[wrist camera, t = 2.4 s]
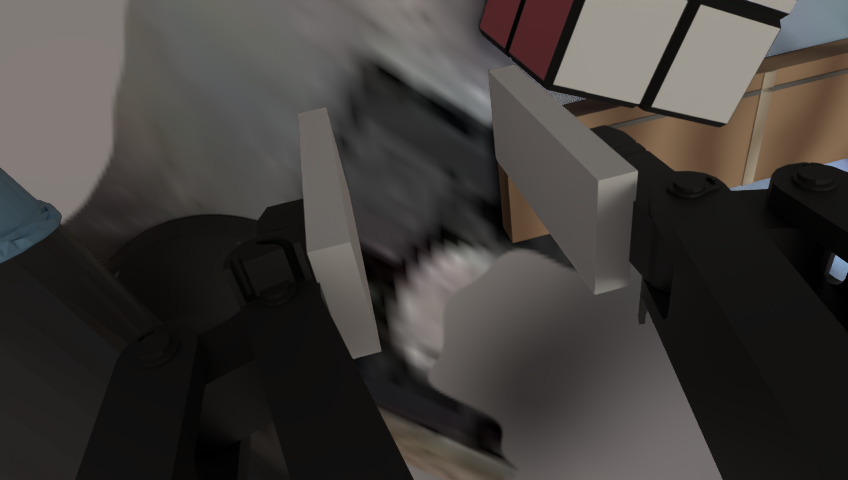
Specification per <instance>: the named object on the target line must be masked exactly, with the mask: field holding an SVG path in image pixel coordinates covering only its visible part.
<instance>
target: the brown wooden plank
mask: <svg viewBox="0 0 848 480" xmlns="http://www.w3.org/2000/svg"><path fill="white" fill-rule="evenodd" d="M562 106H563V107H564V108H566V109H567V110H568V111H569V112H570V113H571V114H573V115H574V116H575V117H576V118H577V119H578V120H580V121H581V122H582V123H583V124H584V125H585V126H587V127H588V128H589V129H590V128H594V127H598V126H602V125H607V126H610V127H613V128H616V129H618V130H621V131H624V132H625V133H627V134H628V135H629V136H630V137H632V138H633V139H634V140H636V143H639V144H641V145H642V146H643V147H645V148H646V151H650V152H651V153H652V154H653V155H655V156H656V157H657V158H659V159H660V160H661V161H662V162H664V163H665V164H666V165H668V166H669V167H670V168H671V169H673V170H674V171H695V172H701V173H706V174H709V175H711V176H714V177H717V178H718V179H719V180H721V181H722V182H723V183H725V184H726V186H727V187H728V188H731V187H735V186H739V185H742V186H743V185H747V184H751V183H753V182H755V181H759V180H763V179H767V178H771V175H772V174H773V173H774V171H775V170H776V169H778V168H780V167H782V166H785V165H788V164H795V163H801V162H809V163H810V162H814V163H821V164H826V163H830V162H834V161H838V160H842V159H846V158H848V38H847V39H843V40H839V41H834V42H830V43H826V44H822V45H817V46H813V47H809V48H805V49H800V50H796V51H792V52H788V53H783V54H779V55H775V56H770V57H766V58H764V60H763V62H762V64H761V65H760V67H759V69H758V71H757V72H756V74H755V76H754V78H753V80H752V81H751V83H750V85H749V87H748V88H747V90H746V92H745V94H744V96H743V97H742V99H741V101H740V103H739V104H738V106H737V108H736V110H735V112H734V113H733V115H732V117H731V119H730V120H729V122H728V124H726V125H724V126H722V127H720V128H719V127H714V126H710V125H705V124H701V123H696V122H692V121H687V120H682V119H678V118H673V117H669V116H664V115H660V114H655V113H651V112H646V111H643V110H642V109H640V108H639V107H637V106H636V107H634V108H628V107H623V106H619V105H614V104H610V103H605V102H601V101H596V100H591V99H587V100H583V101H578V102H574V103H570V104H566V105H562ZM498 171H499V183H500V194H501V206H502V218H503V228H504V229H505V231H506V232H507V234H508V236H509V237H510V239H511V241H512V242H513V243H515V242H519V241H523V240H527V239H531V238H534V237H538V236H542V235H546V234H550V233H549V231H548V230H547V229H546V227H545V226H544V224H543V223H542V222H541V220H540V219H539V218H538V216H537V215H536V213H535V212H534V211H533V209H532V208H531V207H530V205H529V204H528V202H527V201H526V200H525V198H524V197H523V196H522V194H521V193H520V191H519V190H518V189H517V187H516V186H515V184H514V183H513V182H512V180H511V179H510V178H509V176H508V175H507V173H506V172H505V171H504V169H503V168H502V167H501V165H500V164H499V162H498Z"/></svg>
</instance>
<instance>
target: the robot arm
mask: <svg viewBox="0 0 848 480" xmlns="http://www.w3.org/2000/svg"><path fill="white" fill-rule="evenodd" d="M488 74H489V85H490V97H491V108H492V120H493V131H494V143H495V154H496V160H497V161H498V162H499V164H500V165H501V167H502V168H503V169H504V171H505V172H506V173H507V175H508V176H509V178H510V179H511V180H512V182H513V183H514V184H515V186H516V187H517V189H518V190H519V191H520V193H521V194H522V196H523V197H524V198H525V200H526V201H527V202H528V204H529V205H530V207H531V208H532V209H533V211H534V212H535V213H536V215H537V216H538V218H539V219H540V220H541V222H542V223H543V224H544V226H545V227H546V229H547V230H548V231H549V233H550V234H551V235H552V237H553V238H554V240H555V241H556V242H557V244H558V245H559V246H560V248H561V249H562V251H563V252H564V253H565V255H566V256H567V257H568V259H569V260H570V262H571V263H572V264H573V266H574V267H575V269H576V270H577V271H578V273H579V274H580V275H581V277H582V278H583V280H584V281H585V282H586V284H587V285H588V286H589V288H590V289H591V291H592V292H593V293H594V295H595V294H599V293H603V292H607V291H610V290H615V289H618V288H622V287H626V286H629V279H630V266H631V264H632V265H633V266H634V267H635V268H636V269H637V270H638V271H639V273H640V274H641V275H642V282H641V293H640V304H639V313H638V318H639V324H644V323H645V316H646V313H647V311H648V312H649V314H650V316H651V318H652V321H653V323H654V325H655V328H656V330H657V332H658V334H659V337H660V339H661V341H662V343H663V346H664V348H665V350H666V352H667V355H668V357H669V359H670V361H671V364H672V366H673V368H674V370H675V373H676V375H677V377H678V379H679V382H680V384H681V386H682V389H683V391H684V393H685V395H686V397H687V400H688V402H689V404H690V407H691V408H692V411H693V413H694V415H695V418H696V420H697V422H698V425H699V427H700V429H701V431H702V434H703V436H704V438H705V440H706V443H707V445H708V447H709V449H710V452H711V454H712V456H713V459H714V461H715V463H716V465H717V468H718V470H719V472H720V474H721V476H722V479H723V480H848V273H847V275H846V278H845V280H844V281H840V280H838V279H836V278H835V277H833V276H832V275H831V274H829V272H830V269H831V266H832V263H833V260H834V257H835V255H837V256H838V257H840V258H841V259H842V260H844V261H845V262H847V263H848V172H846V171H843V170H840V169H838V168H835V167H833V166H828V165H823V164H821V163H814V162H810V163H809V162H801V163H795V164H788V165H785V166H782V167H780V168H778V169H776V170H775V171H774V173H773V174H772V175H771V179H770V184H769V188H768V189H760V190H741V191H731V190H730V189H729V188H728V187H727V186H726V184H725V183H723V182H722V181H721V180H719V179H718V178H717V177H714V176H711V175H709V174H706V173H701V172H695V171H674V170H673V169H671V168H670V167H669V166H668V165H666V164H665V163H664V162H662V161H661V160H660V159H659V158H657V157H656V156H655V155H653V154H652V153H651V152H650V151H646V148H645V147H643V146H642V145H641V144H639V143H636V140H634V139H633V138H632V137H630V136H629V135H628V134H627V133H625V132H624V131H621V130H618V129H616V128H613V127H610V126H607V125H602V126H598V127H594V128H590V129H589V128H588V127H587V126H585V125H584V124H583V123H582V122H581V121H580V120H578V119H577V118H576V117H575V116H574V115H573V114H571V113H570V112H569V111H568V110H567V109H566V108H564V107H563V106H562V105H561V104H560V103H559V102H557V101H556V100H555V99H554V98H553V97H552V96H551V95H549V94H548V93H547V92H546V91H545V90H544V89H542V88H541V87H540V86H539V85H538V84H537V83H535V82H534V81H533V80H532V79H531V78H530V77H528V76H527V75H526V74H525V73H524V72H523V71H521V70H520V69H519V68H518V67H517V66H516V65H510V66H506V67H502V68H497V69H493V70H488ZM298 121H299V136H300V152H301V168H302V183H303V199H300V200H296V201H291V202H287V203H283V204H279V205H275V206H271V207H267V208H266V210H265V211H264V213H263V214H262V215H261V217H260V218H259V220H258V221H253V220H249V219H244V218H238V217H230V216H197V217H190V218H184V219H179V220H175V221H171V222H168V223H165V224H162V225H159V226H157V227H154V228H152V229H150V230H148V231H146V232H144V233H142V234H141V235H139V236H137V237H136V238H134V239H133V240H131V241H130V242H129V243H127V244H126V245H125V246H124V247H123V248H122V249H121V250H120V251H119V252H118V253H117V254H116V255H115V256H114V257H113V259H112V260H111V261H110V263H109V264H108V266H107V267H105V266H104V265H103V264H102V263H100V262H99V261H98V260H97V259H96V258H95V257H94V256H93V255H92V254H91V253H90V252H89V251H88V250H87V249H86V248H85V247H84V246H83V245H82V244H81V243H80V242H79V241H78V240H77V239H76V238H75V237H74V236H73V235H71V234H70V233H69V232H68V231H67V230H66V229H65V228H64V227H63V226H62V225H61V224H60V222H61V218H62V215H61V213H59V211H57V209H56V208H55V207H54V206H53V205H51V204H50V203H46V202H43V201H41V200H36V199H35V198H34V197H33V196H32V195H31V194H29V193H28V192H27V191H26V190H25V189H24V188H23V187H22V186H20V185H19V184H18V183H17V182H16V181H15V180H14V179H13V178H11V177H10V176H9V175H8V174H7V173H6V172H5V171H3V170H2V169H1V168H0V480H414V479H413V477H412V475H411V473H410V471H409V469H408V467H407V465H406V463H405V461H404V459H403V457H402V455H401V453H400V451H399V449H398V447H397V445H396V443H395V441H394V439H393V437H392V436H391V434H390V432H389V430H388V428H387V426H386V424H385V422H384V420H383V418H382V416H381V414H380V412H379V410H378V408H377V406H376V404H375V402H374V400H373V398H372V396H371V394H370V392H369V390H368V388H367V386H366V384H365V382H364V380H363V378H362V376H361V374H360V372H359V370H358V368H357V366H356V364H355V362H354V360H353V359H354V358H358V357H362V356H366V355H370V354H373V353H377V352H381V347H380V342H379V337H378V332H377V327H376V323H375V318H374V313H373V308H372V303H371V298H370V293H369V288H368V283H367V278H366V273H365V269H364V264H363V259H362V254H361V249H360V244H359V239H358V234H357V229H356V224H355V220H354V215H353V210H352V205H351V200H350V195H349V191H348V187H347V184H346V180H345V176H344V172H343V169H342V165H341V161H340V158H339V154H338V150H337V146H336V143H335V139H334V135H333V131H332V128H331V124H330V120H329V117H328V113H327V109H326V107H325V108H320V109H316V110H312V111H307V112H303V113H298Z"/></svg>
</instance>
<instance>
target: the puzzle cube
mask: <svg viewBox="0 0 848 480" xmlns="http://www.w3.org/2000/svg"><path fill="white" fill-rule="evenodd" d="M796 2H797V0H487V4H486V7H485V10H484V14H483V17H482V20H481V24H480V27H479V29H480V31H481V33H482V35H483V36H484V37H486V38H487V39H488V40H489V41H490V42H491V43H493V44H494V45H495V46H496V47H497V48H499V49H500V50H501V51H502V52H503V53H504V54H506V55H507V56H508V57H511V59H512V60H513V61H514V62H515V63H516V64H517V65H518V66H520V67H521V68H522V69H523V70H524V71H525V72H527V73H528V74H529V75H530V76H531V77H533V78H534V79H535V80H536V81H537V82H538V83H540V84H541V85H542V86H543V87H544V88H545V89H547V90H551V91H555V92H560V93H564V94H569V95H573V96H578V97H582V98H587V99H591V100H596V101H601V102H605V103H610V104H614V105H619V106H623V107H628V108H634V107H636V106H637V107H639V108H640V109H642V110H643V111H646V112H651V113H655V114H660V115H664V116H669V117H673V118H678V119H682V120H687V121H692V122H696V123H701V124H705V125H710V126H714V127H719V128H720V127H722V126H724V125H726V124H728V122H729V120H730V119H731V117H732V115H733V113H734V112H735V110H736V108H737V106H738V104H739V103H740V101H741V99H742V97H743V96H744V94H745V92H746V90H747V88H748V87H749V85H750V83H751V81H752V80H753V78H754V76H755V74H756V72H757V71H758V69H759V67H760V65H761V64H762V62H763V60H764V58H765V56H766V55H767V53H768V51H769V49H770V48H771V46H772V44H773V42H774V40H775V39H776V37H777V35H778V33H779V32H780V30H781V25H780V19H782V18H784V17H785V16H787V15H789V14H790V12H791V11H792V9H793V7H794V5H795V3H796Z"/></svg>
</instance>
